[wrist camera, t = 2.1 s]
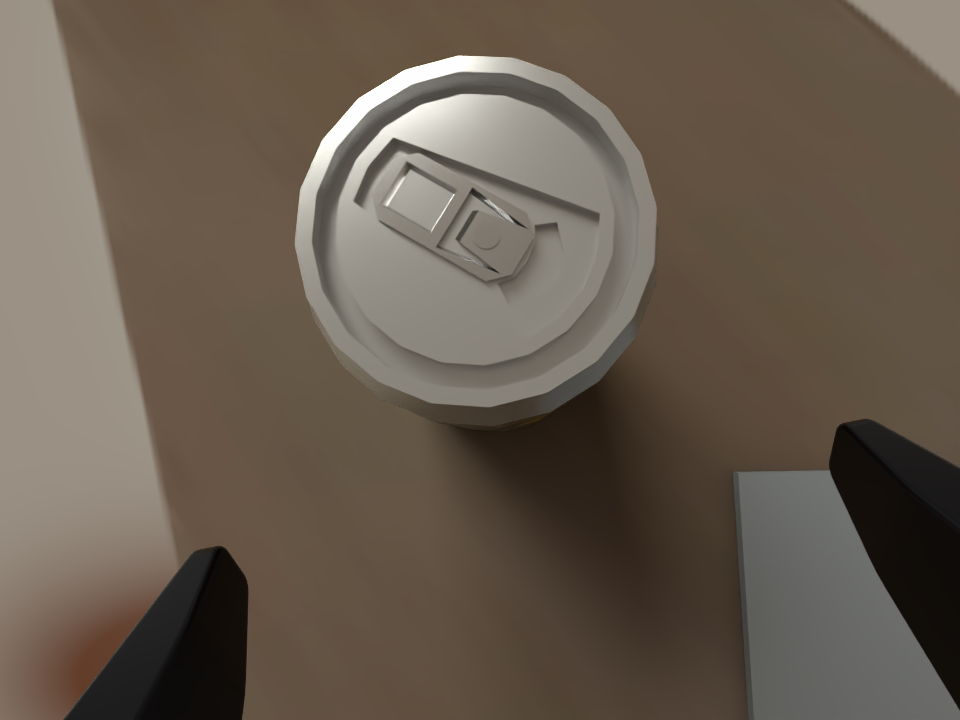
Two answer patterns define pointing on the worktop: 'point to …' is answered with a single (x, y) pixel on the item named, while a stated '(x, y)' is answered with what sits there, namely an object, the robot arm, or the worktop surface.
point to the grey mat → (821, 612)
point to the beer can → (478, 241)
